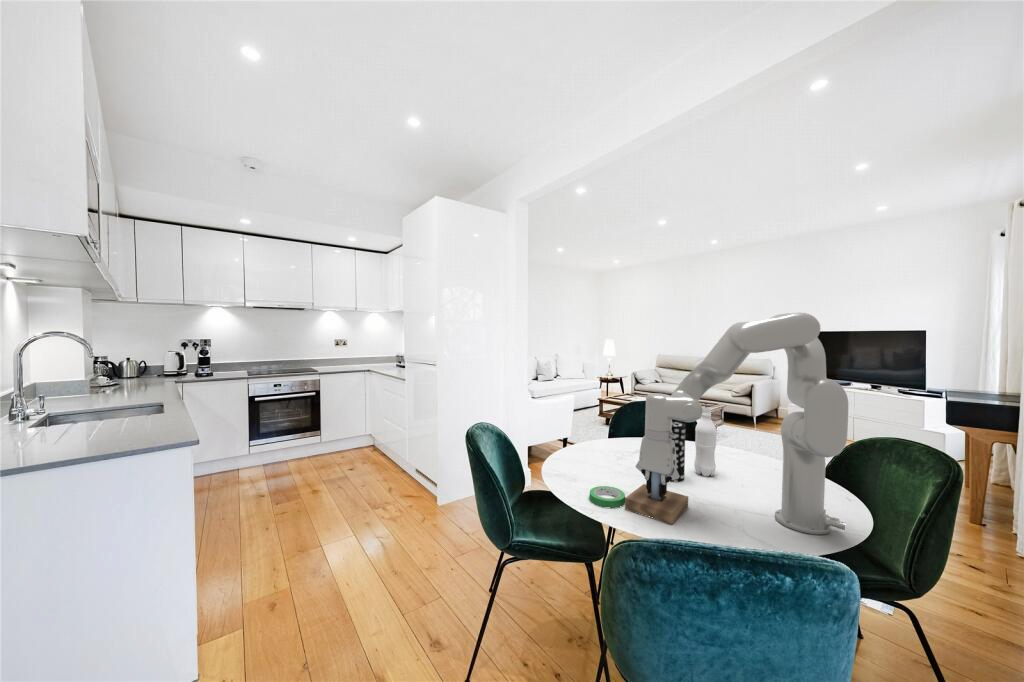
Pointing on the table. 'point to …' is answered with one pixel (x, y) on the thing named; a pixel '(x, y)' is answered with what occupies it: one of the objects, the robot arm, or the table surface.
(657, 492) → the peg
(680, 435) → the white-spotted black cylinder
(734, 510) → the table surface
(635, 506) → the block
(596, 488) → the tape roll
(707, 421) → the water bottle
